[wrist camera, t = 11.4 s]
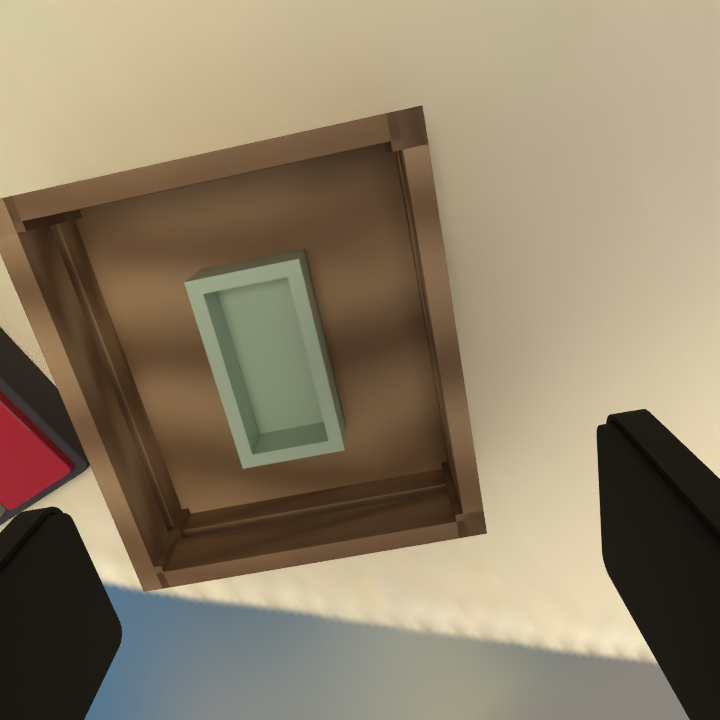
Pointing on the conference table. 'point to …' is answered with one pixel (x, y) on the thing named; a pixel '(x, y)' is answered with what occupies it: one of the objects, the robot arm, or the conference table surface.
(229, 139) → the conference table surface
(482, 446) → the conference table surface
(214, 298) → the box
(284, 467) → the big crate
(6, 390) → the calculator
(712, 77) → the conference table surface
